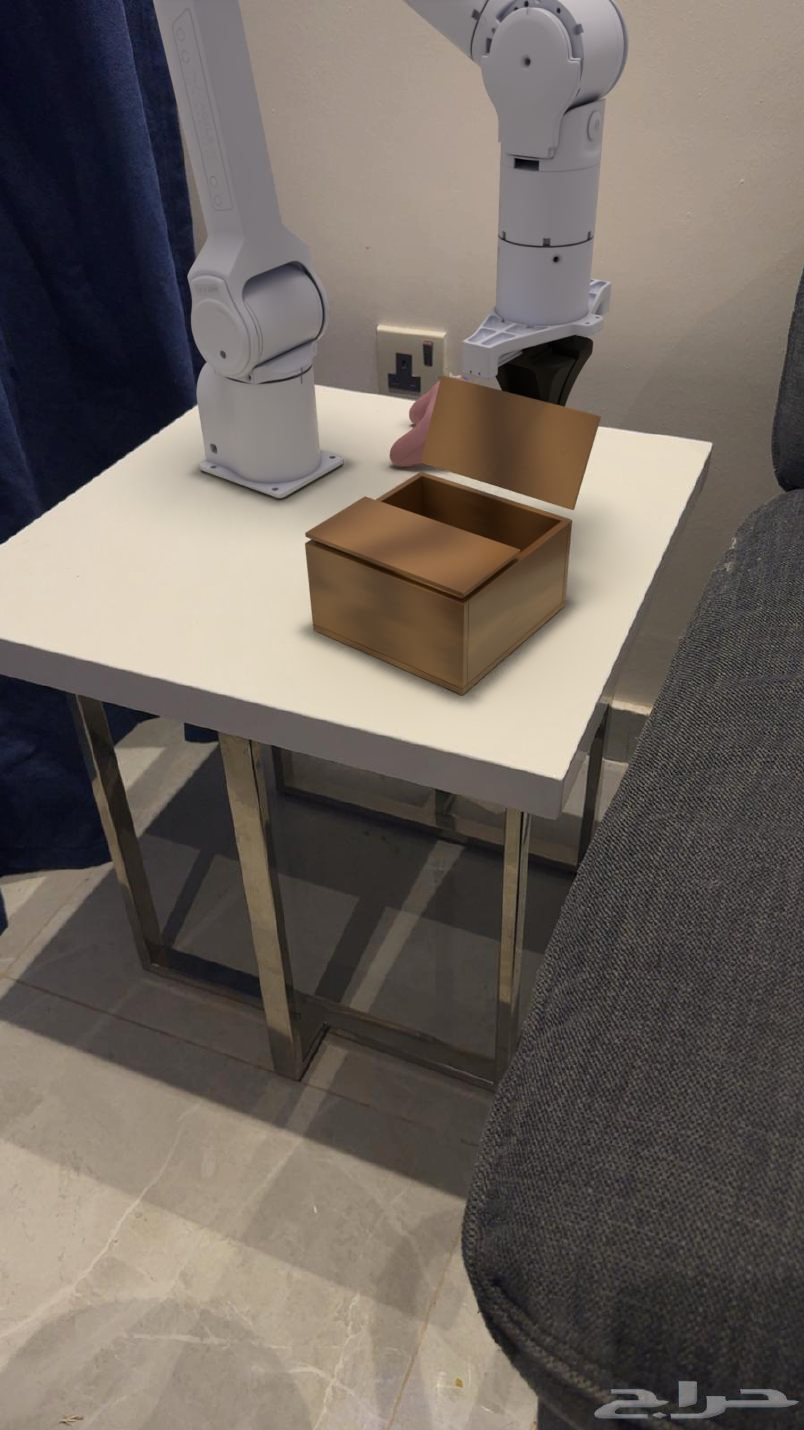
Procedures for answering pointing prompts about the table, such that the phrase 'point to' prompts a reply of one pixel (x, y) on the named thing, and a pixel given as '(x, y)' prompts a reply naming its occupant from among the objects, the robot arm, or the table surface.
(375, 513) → the wooden box
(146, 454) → the table surface
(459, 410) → the flap
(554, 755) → the table surface
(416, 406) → the video game controller
